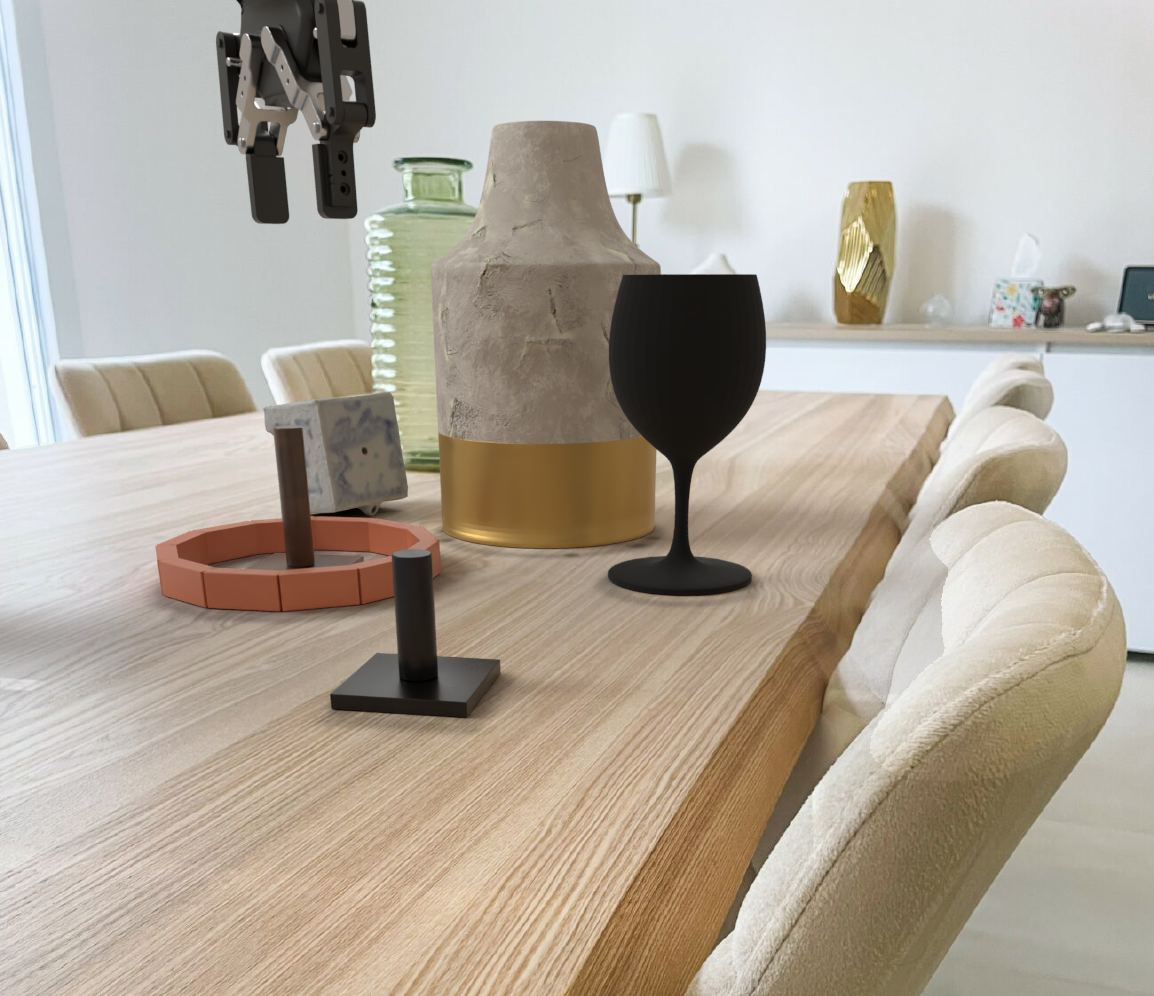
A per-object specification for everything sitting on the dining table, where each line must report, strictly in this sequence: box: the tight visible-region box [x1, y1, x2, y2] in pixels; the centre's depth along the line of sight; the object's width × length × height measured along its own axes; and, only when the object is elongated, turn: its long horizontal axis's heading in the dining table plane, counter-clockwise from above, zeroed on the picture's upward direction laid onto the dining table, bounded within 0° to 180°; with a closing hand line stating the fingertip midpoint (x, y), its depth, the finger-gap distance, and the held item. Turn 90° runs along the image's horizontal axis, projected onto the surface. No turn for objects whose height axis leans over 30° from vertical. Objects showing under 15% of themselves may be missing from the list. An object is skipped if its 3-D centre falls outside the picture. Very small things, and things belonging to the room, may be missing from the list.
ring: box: [154, 515, 442, 612], centre depth 83 cm, size 19×19×2 cm
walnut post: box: [244, 425, 365, 570], centre depth 81 cm, size 7×7×10 cm
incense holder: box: [262, 391, 409, 517], centre depth 104 cm, size 10×8×10 cm
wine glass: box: [607, 273, 767, 596], centre depth 79 cm, size 10×10×20 cm
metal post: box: [329, 549, 501, 718], centre depth 59 cm, size 7×7×7 cm
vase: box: [430, 120, 662, 549], centre depth 94 cm, size 18×18×30 cm
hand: (303, 221), depth 69 cm, fingers open, 8 cm apart
